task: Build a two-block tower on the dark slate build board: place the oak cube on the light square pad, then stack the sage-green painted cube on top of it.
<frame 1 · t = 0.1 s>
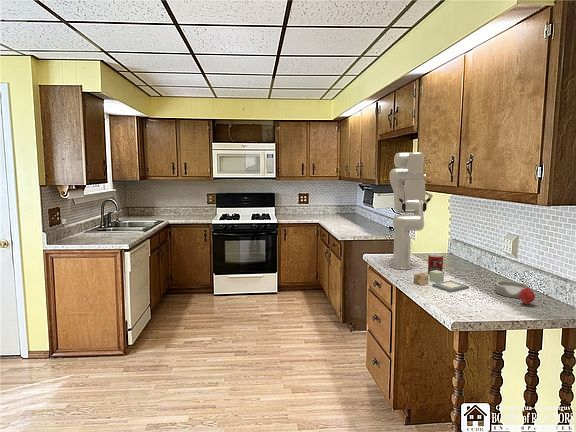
hand: (414, 211, 199), 37 cm above the counter, tool pointing down, fingers open, 9 cm apart
canned food: (435, 274, 221), on the counter
sage block: (436, 280, 208), on the counter
build board: (450, 287, 196), on the counter
oak block: (420, 283, 203), on the counter
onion: (526, 304, 172), on the counter
dish: (511, 294, 186), on the counter
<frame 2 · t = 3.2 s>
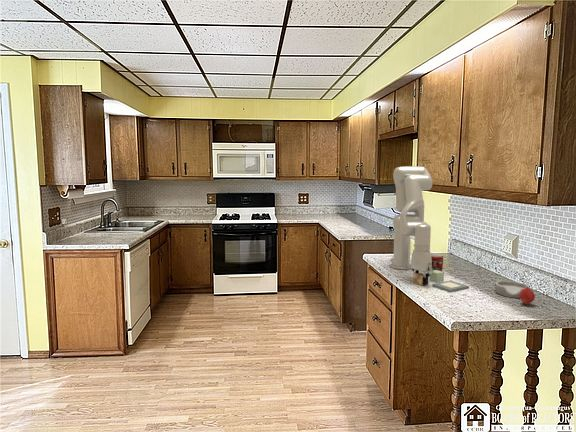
hand: (420, 282, 203), 0 cm above the counter, tool pointing down, fingers closed on oak block, 5 cm apart
oak block: (420, 283, 203), on the counter, touching gripper
everything else where it was.
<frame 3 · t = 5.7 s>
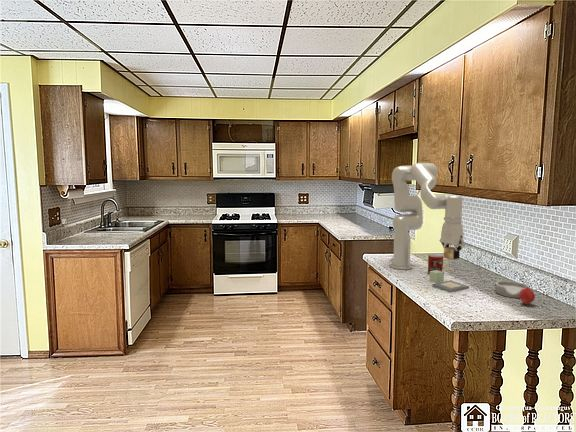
hand: (451, 257, 195), 15 cm above the counter, tool pointing down, fingers closed on oak block, 5 cm apart
oak block: (451, 258, 195), point 15 cm above the counter, touching gripper
everything else where it was.
when the fingers open (3 cm above the counter, at t = 8.4 s): oak block stays where it is, resting on build board.
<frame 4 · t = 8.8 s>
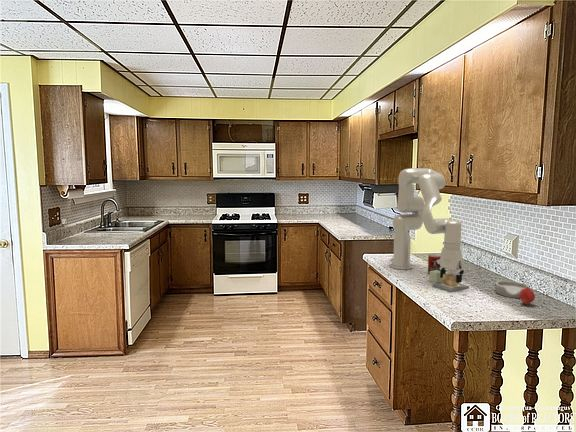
hand: (450, 279, 196), 4 cm above the counter, tool pointing down, fingers open, 9 cm apart
oak block: (450, 284, 196), point 1 cm above the counter, touching build board
everything else where it was.
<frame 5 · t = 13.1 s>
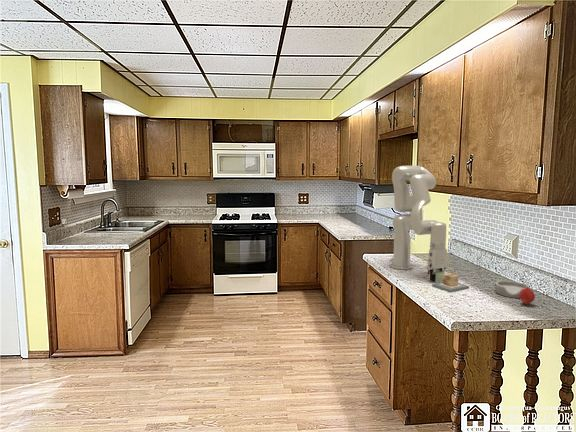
hand: (436, 279, 208), 0 cm above the counter, tool pointing down, fingers closed on sage block, 5 cm apart
sage block: (436, 280, 208), on the counter, touching gripper
everything else where it was.
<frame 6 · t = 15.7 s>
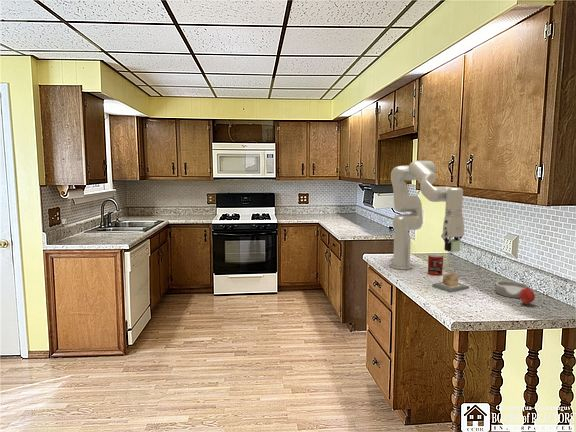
hand: (452, 249, 194), 19 cm above the counter, tool pointing down, fingers closed on sage block, 5 cm apart
sage block: (452, 250, 194), point 19 cm above the counter, touching gripper
everything else where it was.
when the fingers open (8 cm above the counter, at t = 18.6 s): sage block stays where it is, resting on oak block.
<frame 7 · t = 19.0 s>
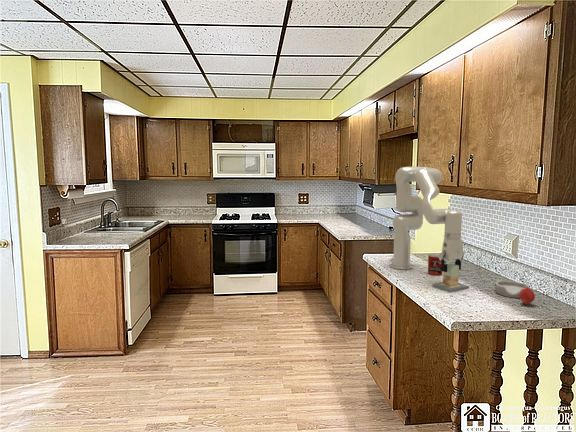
hand: (451, 270, 195), 9 cm above the counter, tool pointing down, fingers open, 9 cm apart
sage block: (450, 274, 196), point 6 cm above the counter, touching oak block
oak block: (450, 284, 196), point 1 cm above the counter, touching build board, sage block
everything else where it was.
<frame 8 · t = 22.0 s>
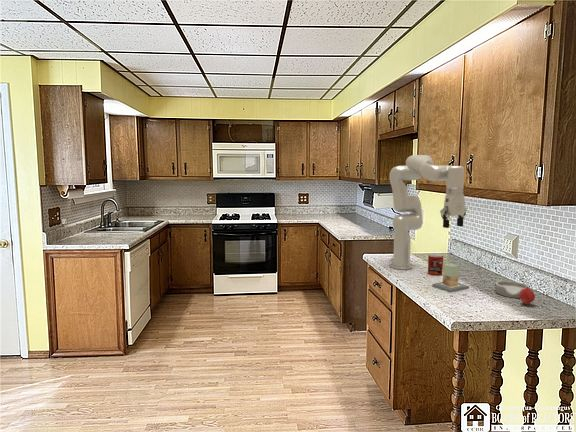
hand: (453, 226, 193), 30 cm above the counter, tool pointing down, fingers open, 9 cm apart
nothing on the counter moved.
at the end: sage block 0.1 cm off-centre on the oak block, point 5.0 cm above the oak block's base; oak block inside the target area on the build board (0.1 cm from its centre), point 1.3 cm above the build board's base; sage block tilted 0° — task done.
